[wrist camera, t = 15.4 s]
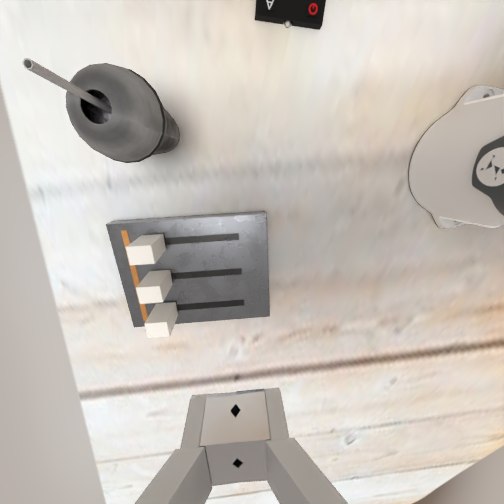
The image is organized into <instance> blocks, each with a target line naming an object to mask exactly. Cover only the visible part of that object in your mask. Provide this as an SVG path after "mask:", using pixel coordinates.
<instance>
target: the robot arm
mask: <svg viewBox="0 0 504 504" xmlns="http://www.w3.org/2000/svg"><path fill="white" fill-rule="evenodd" d="M483 96H484V98H483ZM409 183H410V188H411V191H412V194H413V196H414V198H415V199H416V201H417V202H418V203H419V204H420V205H421V206H422V207H423V208H425V209H426V210H427V211H429V212H430V213H431V214H432V216H433V218H434V220H435V222H436V224H437V226H438V227H440V228H445V229H449V228H454V227H457V226H461V225H465V224H473V225H478V226H483V227H488V228H498V227H499V226H502V225H504V89H500V88H495V87H490V86H485V85H479V86H474V87H471V88H470V89H469V90H467V91H466V92H465V94H464V95H463V96H462V97H461V99H460V100H459V101H458V103H457V104H456V106H455V107H454V108H453V109H452V110H451V111H449V112H448V113H447V114H445V115H444V116H443V117H441V118H440V119H439V120H437V121H436V122H435V123H434V124H433V125H432V126H431V127H430V128H429V129H428V130H427V131H426V133H425V134H424V135H423V137H422V138H421V139H420V141H419V143H418V145H417V147H416V149H415V151H414V153H413V156H412V159H411V163H410V169H409ZM265 480H268V484H269V485H270V487H271V489H272V491H273V492H274V494H275V496H276V498H277V500H278V501H279V503H280V504H348V503H347V502H346V500H345V499H344V498H343V497H342V496H341V494H340V493H339V492H338V491H337V490H336V488H335V487H334V486H333V485H332V483H331V482H330V481H329V480H328V479H327V477H326V476H325V475H324V474H323V472H322V471H321V470H320V469H319V468H318V466H317V465H316V464H315V463H314V462H313V460H312V459H311V458H310V457H309V455H308V454H307V453H306V452H305V451H304V449H303V448H302V447H301V446H300V445H299V443H298V442H297V441H296V440H295V438H289V434H288V428H287V423H286V418H285V413H284V407H283V402H282V397H281V392H280V389H279V388H270V389H265V390H264V389H256V390H247V391H237V392H232V393H215V394H201V395H192V397H191V400H190V403H189V408H188V413H187V418H186V423H185V428H184V433H183V438H182V443H181V448H180V449H175V451H174V452H173V453H172V455H171V456H170V457H169V459H168V460H167V461H166V463H165V464H164V465H163V467H162V468H161V469H160V471H159V472H158V473H157V475H156V476H155V477H154V479H153V480H152V481H151V483H150V484H149V485H148V487H147V488H146V489H145V491H144V492H143V493H142V495H141V496H140V497H139V498H138V500H137V501H136V502H135V504H205V502H206V500H207V498H208V496H209V494H210V492H211V490H212V486H216V485H223V484H231V483H238V482H251V481H265Z"/></svg>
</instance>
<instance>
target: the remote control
mask: <svg viewBox="0 0 504 504" xmlns="http://www.w3.org/2000/svg"><path fill="white" fill-rule="evenodd" d="M325 2H326V0H256V13H255V20H258V21H265V22H272V23H279V24H283V21H284V22H285V26H286V27H289V26H290V22H291V23H292V26H299V27H305V28H312V29H320V28H321V26H322V22H323V15H324V9H325Z"/></svg>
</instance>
